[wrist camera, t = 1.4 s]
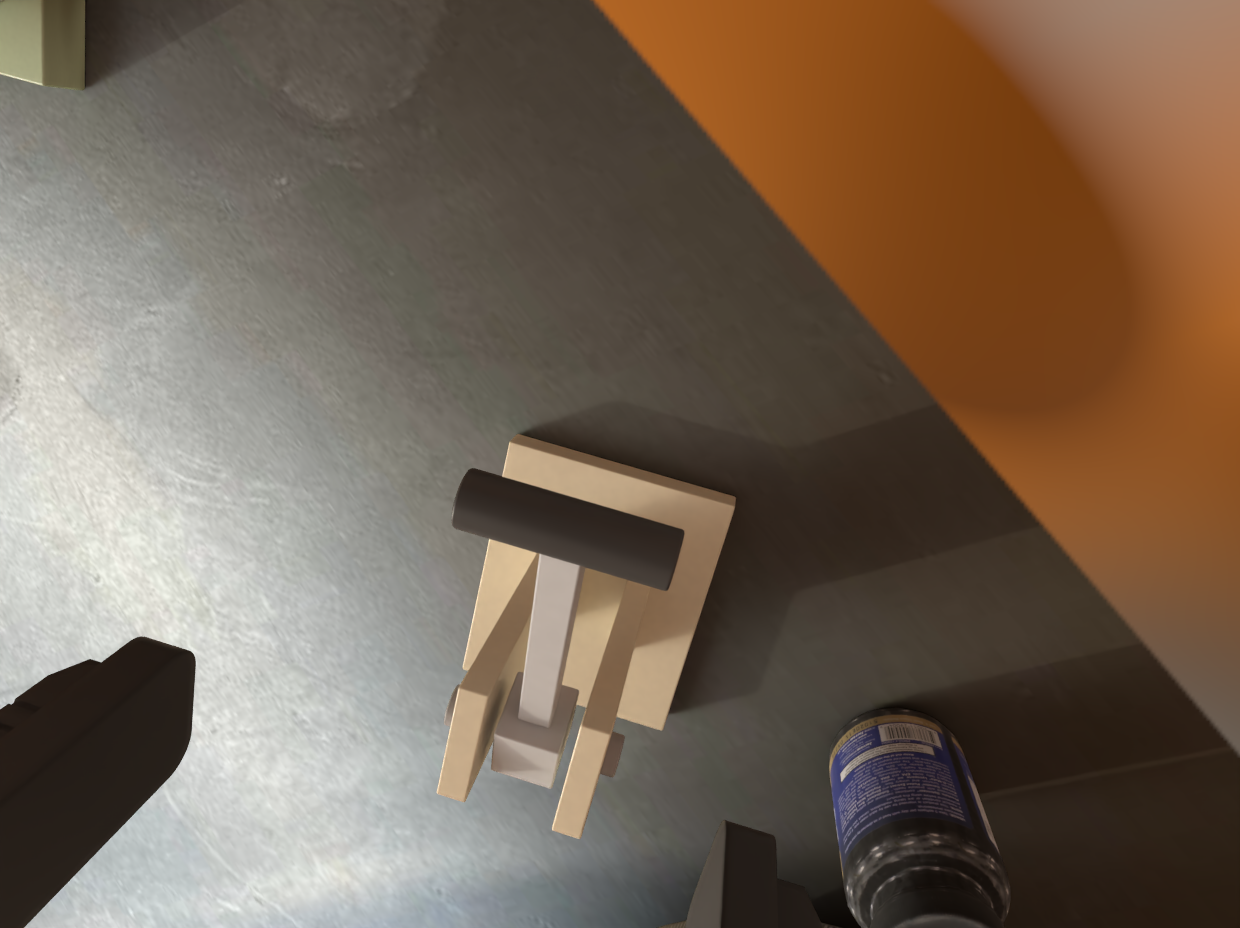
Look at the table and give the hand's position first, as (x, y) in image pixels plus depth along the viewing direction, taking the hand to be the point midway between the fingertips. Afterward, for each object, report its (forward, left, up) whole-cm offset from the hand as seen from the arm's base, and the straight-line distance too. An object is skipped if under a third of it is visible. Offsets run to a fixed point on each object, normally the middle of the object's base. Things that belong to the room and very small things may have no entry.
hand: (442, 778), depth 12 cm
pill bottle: (-9, +19, -25) cm, 33 cm away
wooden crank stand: (+4, +9, -25) cm, 27 cm away
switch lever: (+2, +4, -13) cm, 13 cm away
